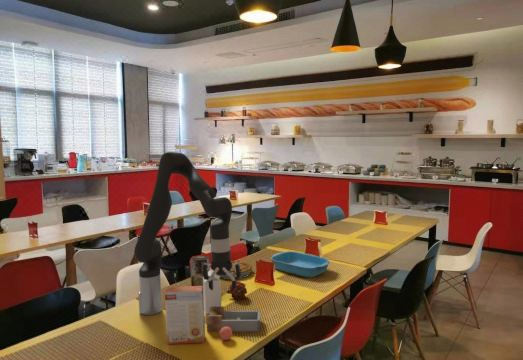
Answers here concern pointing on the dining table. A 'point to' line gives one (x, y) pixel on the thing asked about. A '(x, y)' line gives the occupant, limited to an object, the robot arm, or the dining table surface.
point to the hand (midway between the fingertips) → (222, 289)
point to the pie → (244, 269)
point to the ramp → (215, 318)
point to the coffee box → (198, 269)
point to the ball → (226, 333)
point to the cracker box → (185, 315)
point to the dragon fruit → (237, 290)
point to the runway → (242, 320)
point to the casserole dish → (300, 263)
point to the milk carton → (211, 293)
